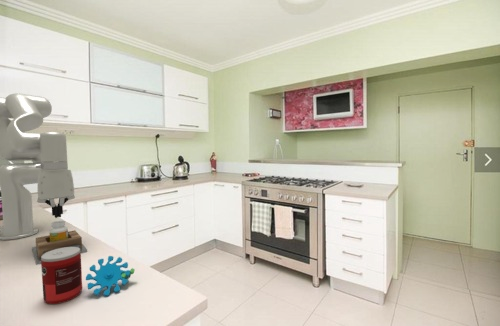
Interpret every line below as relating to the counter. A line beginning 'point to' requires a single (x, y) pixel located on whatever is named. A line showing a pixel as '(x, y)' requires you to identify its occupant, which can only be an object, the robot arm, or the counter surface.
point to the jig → (57, 242)
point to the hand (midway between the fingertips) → (57, 216)
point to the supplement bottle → (58, 231)
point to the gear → (109, 275)
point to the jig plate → (38, 260)
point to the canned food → (61, 274)
